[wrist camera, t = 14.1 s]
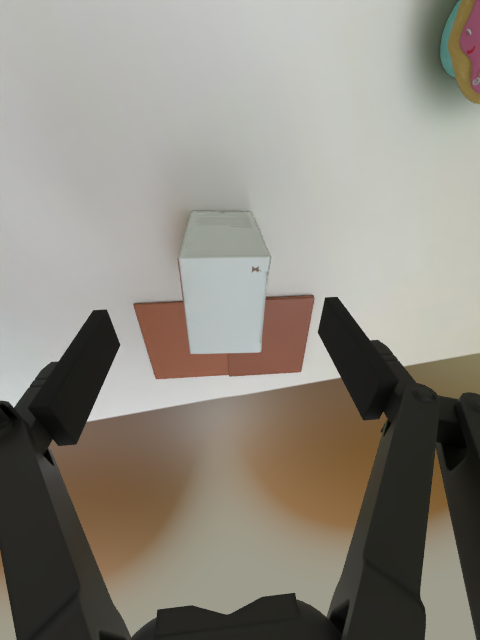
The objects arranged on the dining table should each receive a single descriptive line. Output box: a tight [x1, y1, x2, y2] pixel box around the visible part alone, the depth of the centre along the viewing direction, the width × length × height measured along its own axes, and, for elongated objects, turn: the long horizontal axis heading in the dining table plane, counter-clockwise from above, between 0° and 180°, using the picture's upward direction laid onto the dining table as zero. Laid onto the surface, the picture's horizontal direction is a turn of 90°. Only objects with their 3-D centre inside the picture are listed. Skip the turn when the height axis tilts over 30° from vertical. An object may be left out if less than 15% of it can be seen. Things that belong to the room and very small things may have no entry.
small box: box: [178, 211, 271, 354], centre depth 21 cm, size 8×6×10 cm
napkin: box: [134, 295, 314, 379], centre depth 32 cm, size 20×12×1 cm, turn 91°
